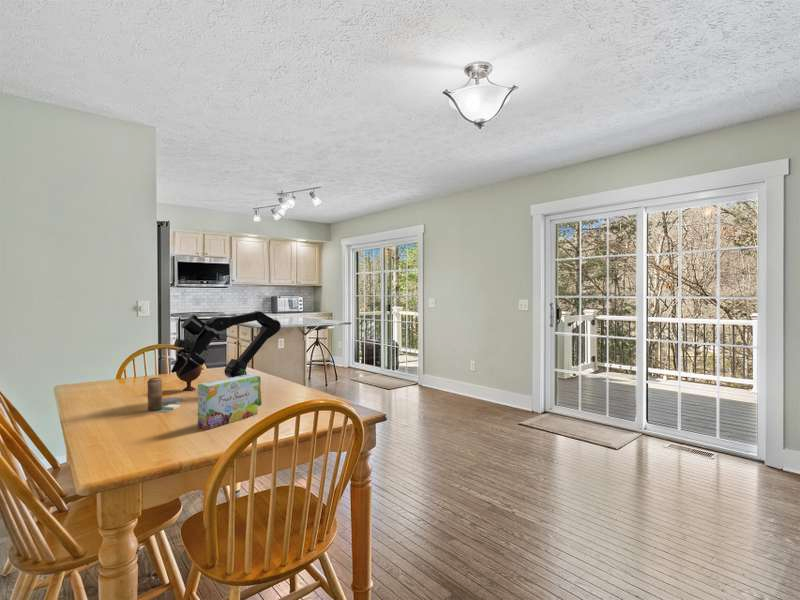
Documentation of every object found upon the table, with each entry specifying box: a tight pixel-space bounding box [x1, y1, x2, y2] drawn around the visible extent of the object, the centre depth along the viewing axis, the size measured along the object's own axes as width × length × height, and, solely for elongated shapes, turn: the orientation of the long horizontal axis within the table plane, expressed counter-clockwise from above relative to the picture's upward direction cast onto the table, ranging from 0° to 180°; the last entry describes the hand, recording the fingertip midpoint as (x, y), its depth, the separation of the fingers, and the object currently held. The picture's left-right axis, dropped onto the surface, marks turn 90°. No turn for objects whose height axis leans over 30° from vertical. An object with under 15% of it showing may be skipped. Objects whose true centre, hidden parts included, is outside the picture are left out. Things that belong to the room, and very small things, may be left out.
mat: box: [144, 404, 181, 414], centre depth 169 cm, size 10×8×1 cm
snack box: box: [197, 373, 259, 431], centre depth 154 cm, size 21×6×15 cm, turn 148°
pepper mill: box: [146, 377, 163, 412], centre depth 168 cm, size 5×5×12 cm
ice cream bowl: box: [175, 367, 202, 392], centre depth 201 cm, size 11×11×15 cm
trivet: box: [162, 396, 185, 406], centre depth 181 cm, size 11×11×1 cm
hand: (175, 374), depth 174 cm, fingers open, 9 cm apart
